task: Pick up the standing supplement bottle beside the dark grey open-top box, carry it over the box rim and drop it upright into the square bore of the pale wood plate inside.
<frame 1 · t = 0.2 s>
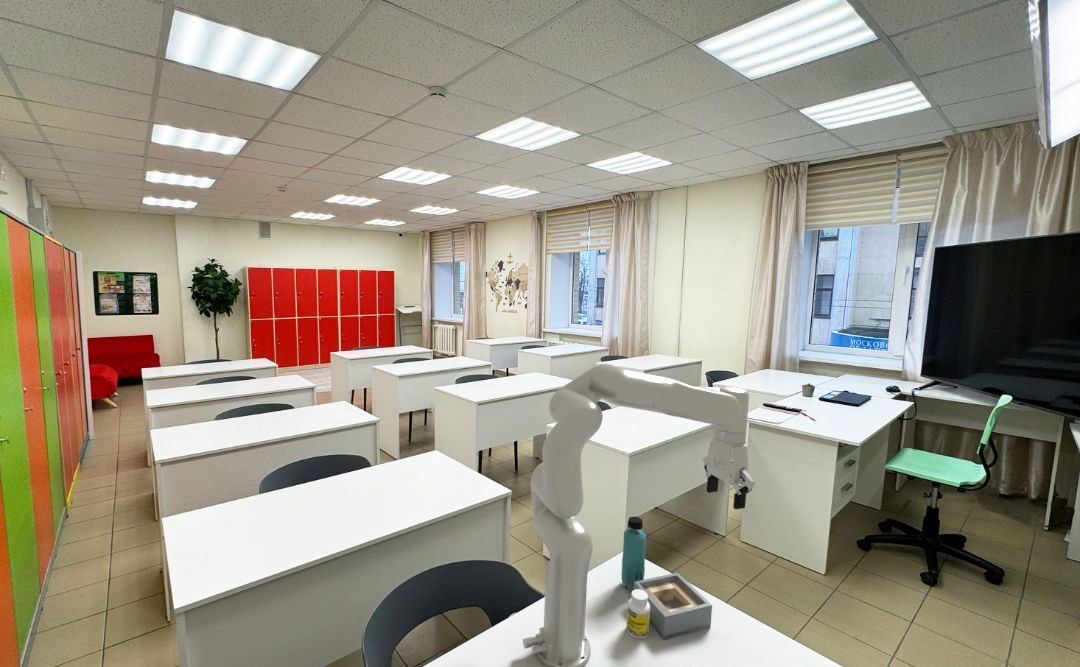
hand: (725, 499, 120), 31 cm above the table, fingers open, 9 cm apart
beverage bottle: (631, 586, 132), on the table
supplement bottle: (637, 632, 114), on the table
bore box: (670, 614, 120), on the table
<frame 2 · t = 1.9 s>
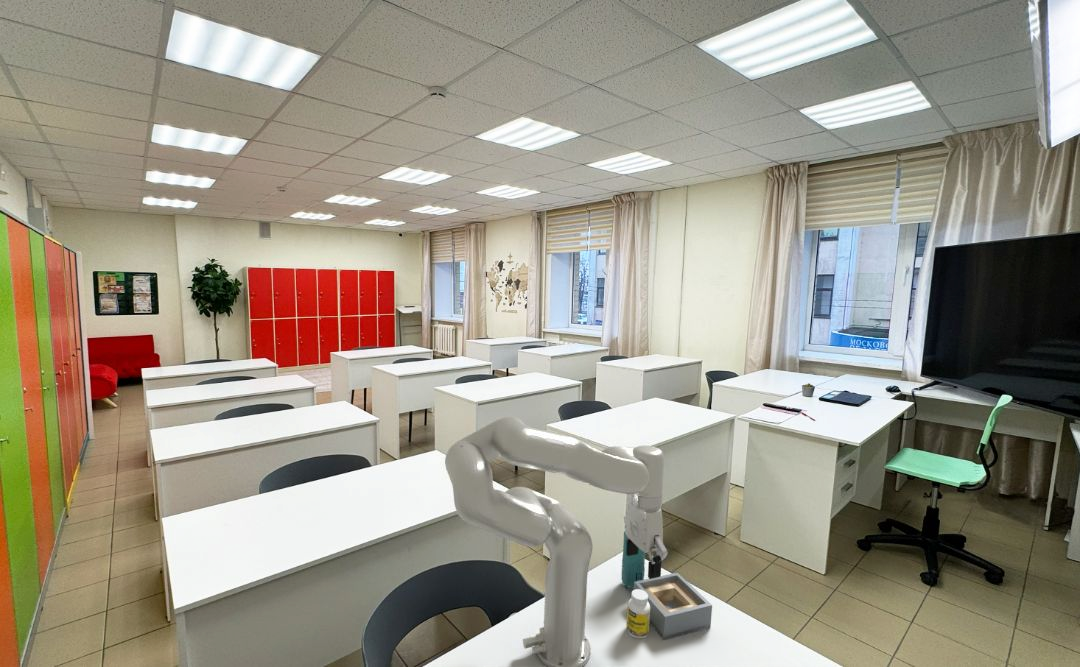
hand: (642, 565, 113), 17 cm above the table, fingers open, 9 cm apart
nothing on the table moved.
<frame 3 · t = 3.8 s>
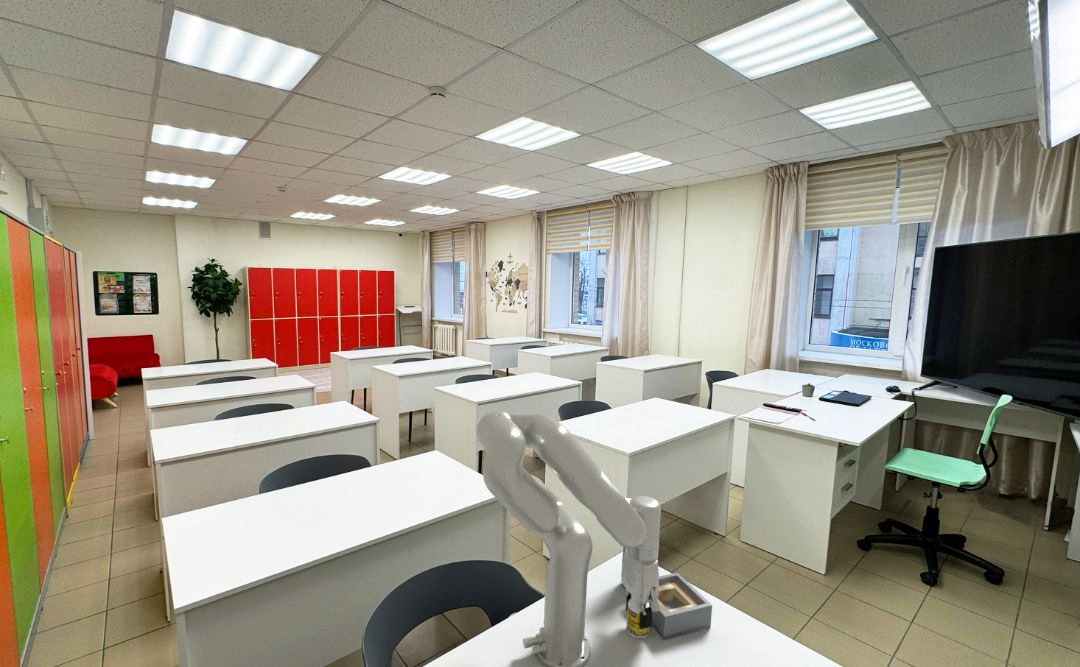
hand: (638, 617, 114), 4 cm above the table, fingers closed on supplement bottle, 5 cm apart
supplement bottle: (637, 631, 114), on the table, touching gripper
everything else where it was.
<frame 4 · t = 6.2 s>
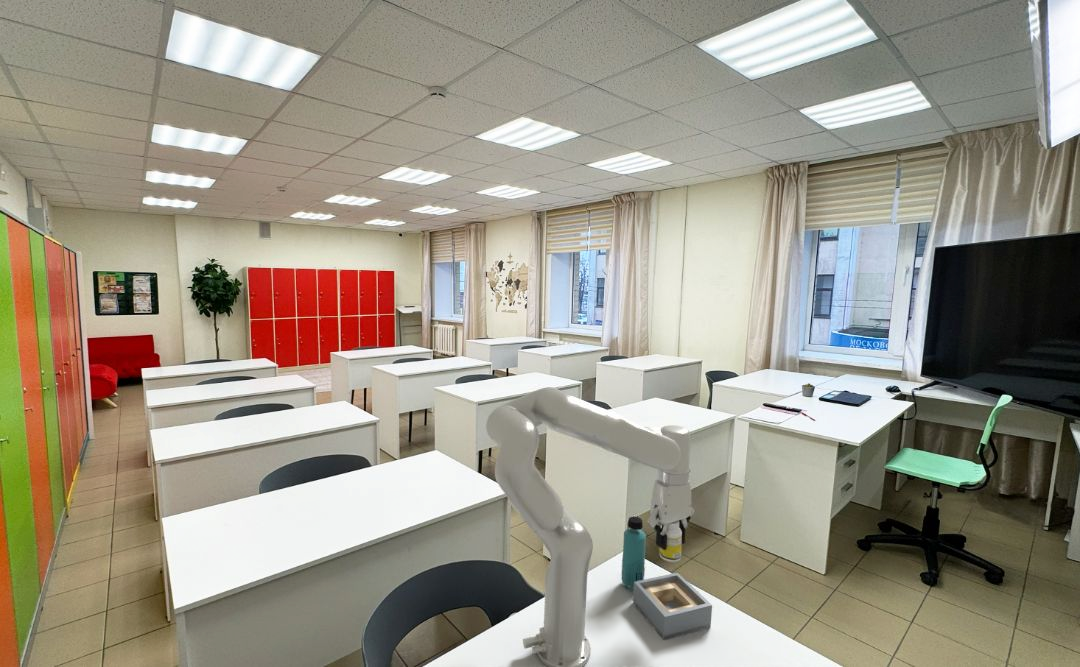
hand: (670, 543, 117), 20 cm above the table, fingers closed on supplement bottle, 5 cm apart
supplement bottle: (669, 557, 118), point 16 cm above the table, touching gripper
everything else where it was.
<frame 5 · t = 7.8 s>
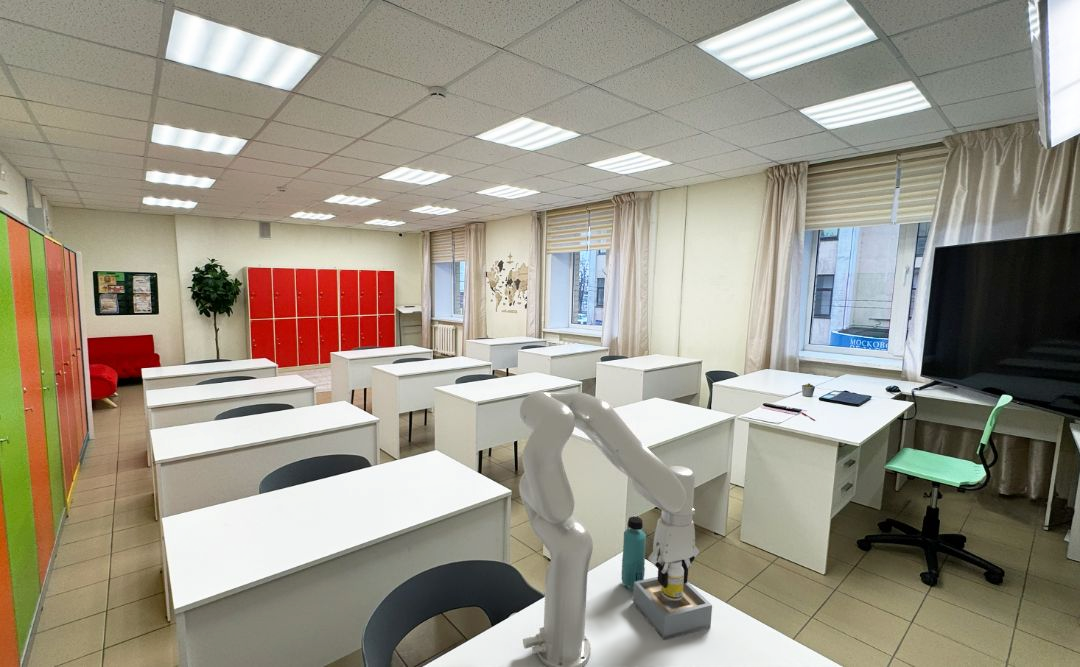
hand: (672, 581, 119), 9 cm above the table, fingers closed on supplement bottle, 5 cm apart
supplement bottle: (671, 595, 120), point 5 cm above the table, touching gripper
everything else where it was.
when the fingers open (6 cm above the table, at t = 8.8 s): supplement bottle drops 1 cm, resting on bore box.
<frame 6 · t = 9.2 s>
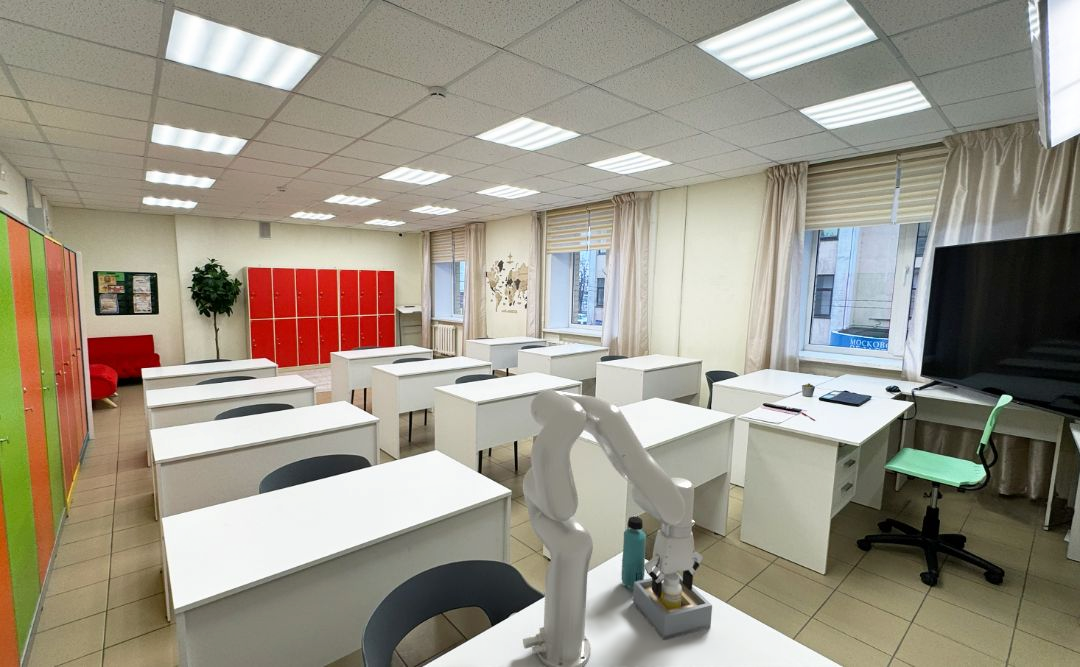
hand: (671, 590, 120), 7 cm above the table, fingers open, 9 cm apart
supplement bottle: (669, 612, 120), point 1 cm above the table, touching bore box
everything else where it was.
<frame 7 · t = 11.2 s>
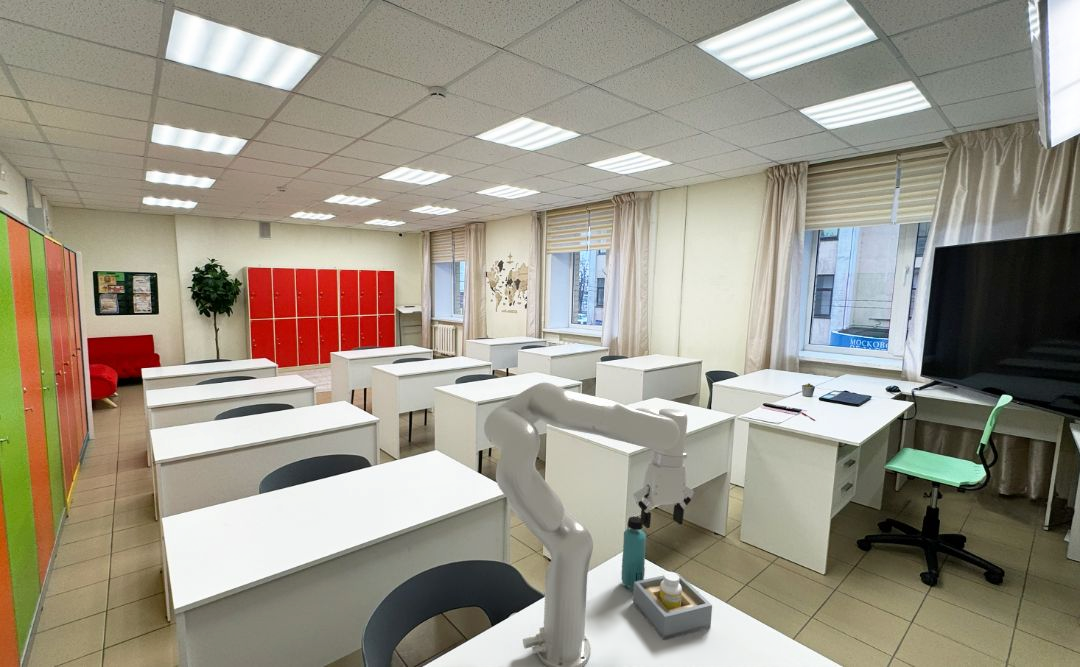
hand: (661, 523, 118), 25 cm above the table, fingers open, 9 cm apart
nothing on the table moved.
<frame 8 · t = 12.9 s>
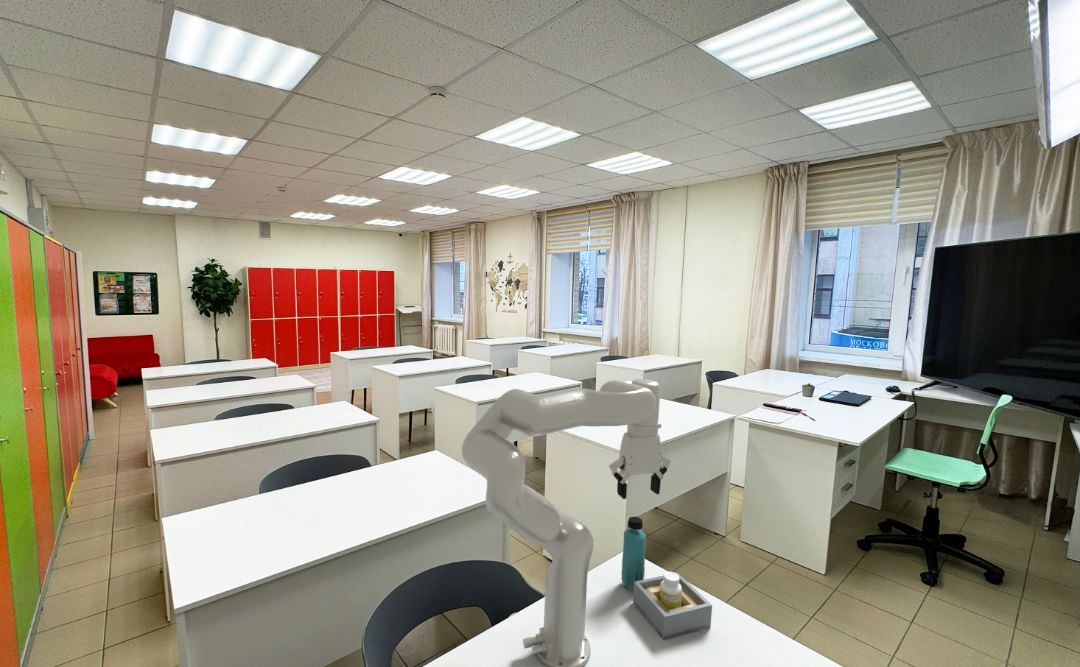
hand: (638, 494, 117), 32 cm above the table, fingers open, 9 cm apart
nothing on the table moved.
at the end: supplement bottle 0.4 cm off-centre on the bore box, point 0.8 cm above the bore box's base; supplement bottle tilted 0°; the gripper is holding nothing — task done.
